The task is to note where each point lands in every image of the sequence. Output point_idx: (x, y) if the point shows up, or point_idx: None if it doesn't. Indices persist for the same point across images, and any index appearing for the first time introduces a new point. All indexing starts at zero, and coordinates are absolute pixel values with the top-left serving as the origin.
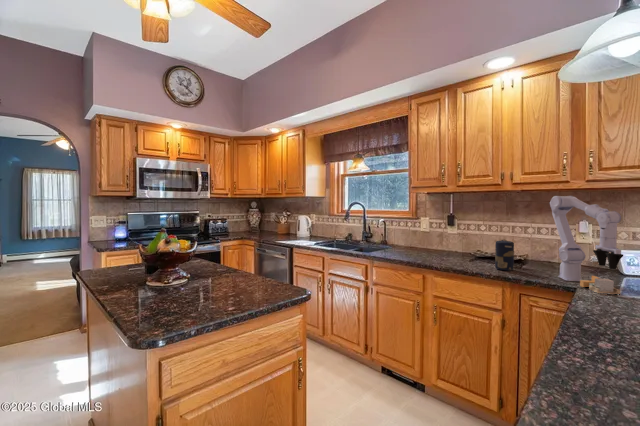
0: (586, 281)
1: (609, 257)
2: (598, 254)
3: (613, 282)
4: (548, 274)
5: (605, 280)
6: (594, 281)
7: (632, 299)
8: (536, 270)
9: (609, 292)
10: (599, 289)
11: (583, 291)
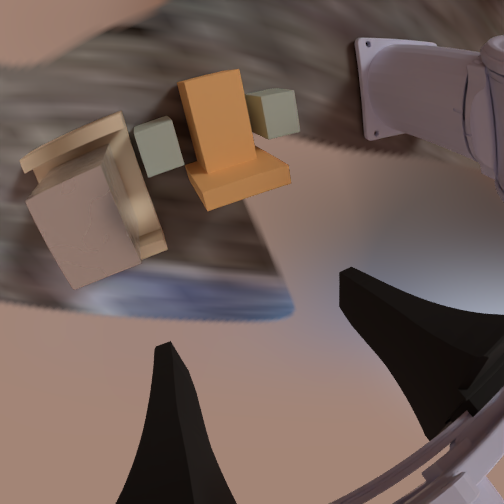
0: (203, 106)
1: (127, 483)
2: (432, 349)
3: (73, 282)
4: (454, 25)
5: (56, 241)
6: (231, 166)
7: (32, 301)
8: (492, 19)
9: None
10: (49, 172)
11: (59, 74)
